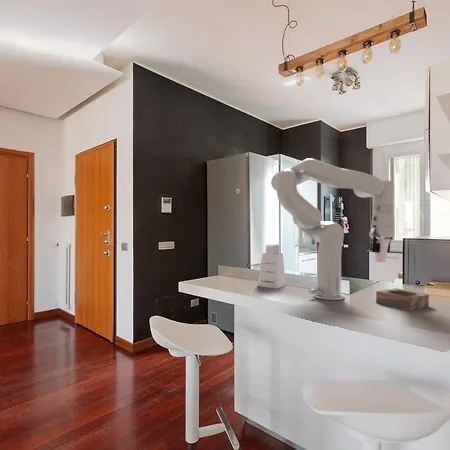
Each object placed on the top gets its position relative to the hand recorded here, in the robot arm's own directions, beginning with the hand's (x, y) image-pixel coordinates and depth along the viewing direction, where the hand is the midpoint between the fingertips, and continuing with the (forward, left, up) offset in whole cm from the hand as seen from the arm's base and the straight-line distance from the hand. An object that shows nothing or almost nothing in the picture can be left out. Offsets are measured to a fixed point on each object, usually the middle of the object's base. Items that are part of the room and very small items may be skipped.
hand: (380, 251), depth 138 cm
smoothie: (0, 0, -4) cm, 4 cm away
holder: (-4, -12, -19) cm, 23 cm away
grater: (-26, +40, -19) cm, 52 cm away
